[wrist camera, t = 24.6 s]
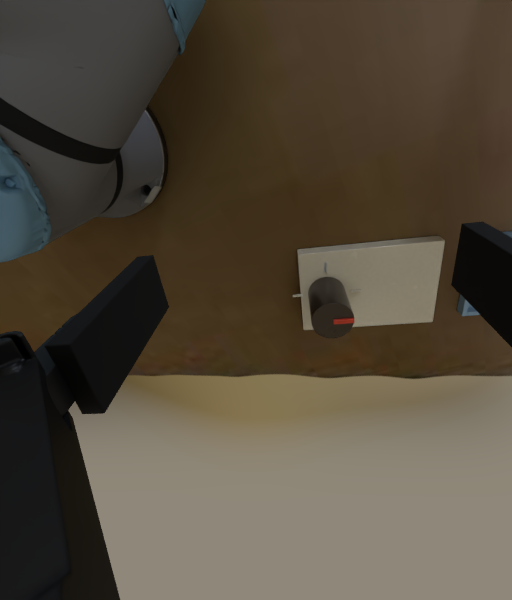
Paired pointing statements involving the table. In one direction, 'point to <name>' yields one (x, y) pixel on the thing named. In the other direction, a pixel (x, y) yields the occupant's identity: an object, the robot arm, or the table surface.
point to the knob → (330, 308)
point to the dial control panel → (378, 278)
